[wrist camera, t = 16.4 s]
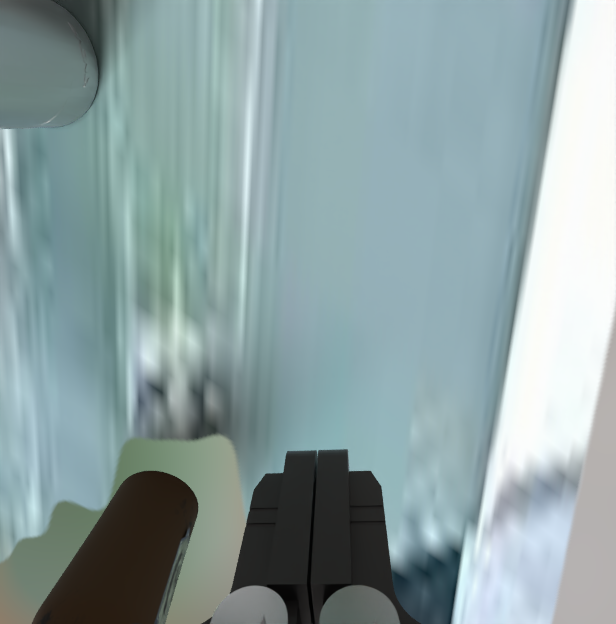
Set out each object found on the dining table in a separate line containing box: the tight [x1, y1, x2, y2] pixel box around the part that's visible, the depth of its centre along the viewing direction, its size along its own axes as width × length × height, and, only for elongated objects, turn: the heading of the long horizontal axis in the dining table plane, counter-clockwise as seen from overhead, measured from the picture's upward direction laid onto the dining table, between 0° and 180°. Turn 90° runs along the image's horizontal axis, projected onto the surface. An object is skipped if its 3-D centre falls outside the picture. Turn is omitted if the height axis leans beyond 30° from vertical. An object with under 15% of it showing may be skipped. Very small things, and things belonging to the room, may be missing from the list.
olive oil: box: [32, 471, 198, 624], centre depth 42 cm, size 11×11×25 cm
